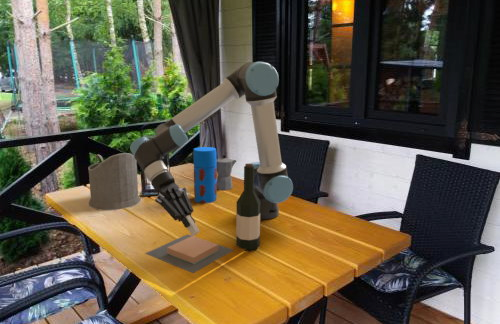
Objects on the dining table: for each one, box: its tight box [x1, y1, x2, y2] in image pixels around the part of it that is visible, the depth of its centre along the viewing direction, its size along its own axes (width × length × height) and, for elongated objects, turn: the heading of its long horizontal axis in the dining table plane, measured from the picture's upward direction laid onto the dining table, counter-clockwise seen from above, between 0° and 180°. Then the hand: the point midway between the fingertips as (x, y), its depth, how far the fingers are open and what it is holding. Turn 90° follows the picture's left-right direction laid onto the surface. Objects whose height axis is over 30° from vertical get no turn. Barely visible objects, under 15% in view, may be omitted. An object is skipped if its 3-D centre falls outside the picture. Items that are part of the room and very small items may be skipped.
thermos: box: [193, 146, 218, 204], centre depth 187 cm, size 11×11×25 cm
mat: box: [144, 234, 234, 274], centre depth 133 cm, size 22×20×1 cm
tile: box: [167, 235, 219, 264], centre depth 132 cm, size 2×12×12 cm
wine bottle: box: [235, 163, 261, 252], centre depth 136 cm, size 8×8×30 cm
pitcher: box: [88, 152, 142, 211], centre depth 185 cm, size 23×32×25 cm
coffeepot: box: [216, 154, 237, 191], centre depth 208 cm, size 15×9×18 cm, turn 103°
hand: (196, 233), depth 129 cm, fingers closed
